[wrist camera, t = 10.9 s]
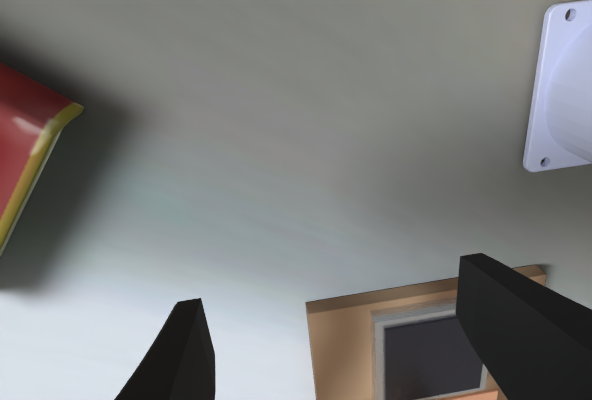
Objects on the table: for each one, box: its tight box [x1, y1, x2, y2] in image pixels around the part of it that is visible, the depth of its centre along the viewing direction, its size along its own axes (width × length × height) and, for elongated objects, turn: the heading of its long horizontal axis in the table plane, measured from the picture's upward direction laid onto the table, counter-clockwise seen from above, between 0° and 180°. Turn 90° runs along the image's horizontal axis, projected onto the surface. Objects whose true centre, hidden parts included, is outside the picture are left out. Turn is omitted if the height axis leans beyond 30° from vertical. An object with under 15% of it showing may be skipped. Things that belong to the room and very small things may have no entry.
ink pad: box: [370, 296, 488, 400], centre depth 26 cm, size 7×7×1 cm
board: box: [306, 265, 547, 400], centre depth 29 cm, size 14×18×1 cm
